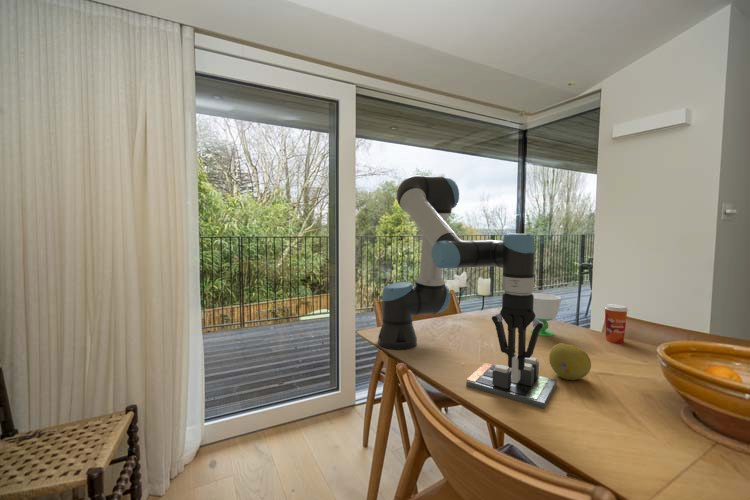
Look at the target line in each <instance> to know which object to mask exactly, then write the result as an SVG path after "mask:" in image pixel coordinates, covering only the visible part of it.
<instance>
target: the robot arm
mask: <svg viewBox="0 0 750 500" xmlns="http://www.w3.org/2000/svg"><path fill="white" fill-rule="evenodd" d="M396 190H397V191H396V202H397V204H398V205H399V207H400V209H401V211H403V212H404V213H406V214H409V216H410V218H411V219H412V221H414V223H415V224H416V226H417V227H418V228H419V230H420V231H421V232H422V241H421V254H420V256H421V257H420V269H419V276H418V277H417V278H416V279H415V285H413V284H412V282H408V281H400V282H393V283H390V284H389V283H388V284H387V285H385V286H384V287H383V289H382V297H381V300H382V303H381V304H382V306H381V307H382V324H381V327H380V330H379V334H378V336H377V337H378V338H377V340H378V341H377V343H378V345H379V346H380V347H382V348H385V349H390V350H406V349H411V348H414V347H415V346H417V344H418V338H417V335H416V331H415V328H414V324H413V316H420V315H421V316H422V315H423V316H424V315H435V314H439V313H443V312H445V311H446V310H447V308H448V307H449V306H450V305H449V304H450V300H451V293H450V289H449V287H448V285H446V281H445V280H444V279H443V278H442V277H443V276H442V275H443V269H450V270H452V269H461V268H462V269H463V268H464V269H465V268H483V267H493V268H494V267H495V268H496V267H497V268H502V291H503V292H502V294H501V295H502V296H501V297H502V299H501V302H502V303H501V310H500V312H499V313H497V314H494V315H493V316H491V320H492V322H493V324H494V326H495V330H496V334H497V339H498V343H499V348H500V351H501V353H502V354H503V353H505V354H506V355H507V366H508V367H509V369H512V382H515V383H518V382H519V380H520V370H523V369H524V367H525V358H530V357H532V356H533V354H534V351H535V348H536V345H537V341H538V338H539V336H540V335H539V332H540V329H541V328H542V327H543V326H544V325H545V323H544V322H543V321H539V320H538V319H537V318H535V314H534V311H533V303H534V296H533V294H532V293H533V292H534V293H535V257H536V245H535V236H534V234H532V233H504V234H503V240H500V239H499V240H496V239H494V240H493V239H479V240H475V239H474V240H470V239H469V240H462V239H461V238H460V237H459V236H458V235H457V234H456V232H454V230H453V229H452V228H451V226H450V225H449V224H448V223H447V218H448V217H449V216H450V215H451V214H452V209H454V208H456V206H457V205H458V203H459V199H460V190H459V185H457V183H456V181H455V180H454V179H453V178H451V177H447V176H442V175H441V176H435V175H434V176H433V175H431V176H430V175H412V176H409V177H407V178H405V179H404V180H403V181H402V182H401V183H400V184H399V186H398V188H397V189H396ZM503 321H504V322H503ZM503 323H506V325H507V337H506V332H505V328H504V324H503ZM531 323H533V324H532V327H533V329H532V330H533V332H532V333H531V335H530V338H529V343H528V346H527V349H526V345H527V344H526V341H527V339H526V338H527V335H526V333H527V328H528V327H529V325H530V324H531ZM516 330H517V332H518V335H517V336H518V338H517V340H518V341H517V352H516ZM515 353H517V354H515Z"/></svg>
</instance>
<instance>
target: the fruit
mask: <svg viewBox="0 0 750 500" xmlns="http://www.w3.org/2000/svg"><path fill="white" fill-rule="evenodd" d="M548 359H549V364H550V366H551V368H552V370H553V371H554V373H555V374H556V375H558V376H559V377H560V378H562V379H564V380H569V381H574V380H575V381H576V380H581V379H583V378H585V377H586V376H587V375H588V374H589V373H590V371H591V368H592V361H591V358H590V356H589V354H588V353H586V351H585V350H584V349H582V348H579V347H578V346H576V345H571V344H567V343H563V342H559V343H558V344H557V343H556V344H555V345H554V346H552V348H551V350H550V352H549V356H548Z"/></svg>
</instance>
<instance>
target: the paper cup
mask: <svg viewBox="0 0 750 500" xmlns="http://www.w3.org/2000/svg"><path fill="white" fill-rule="evenodd" d="M628 312H629V309H628V307H627V306H626V305H622V304H615V303H608V304H605V305H604V316H605V317H604V318H605V319H604V320H605V321H604V322H605V323H604V324H605V339H606V341H607V342H610V343H613V344H614V343H615V344H623V343H624V341H625V333H626V323H627V314H628Z"/></svg>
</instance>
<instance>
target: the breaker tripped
mask: <svg viewBox="0 0 750 500" xmlns="http://www.w3.org/2000/svg"><path fill="white" fill-rule="evenodd" d="M495 365H496V366H495V369H494V370H493V385H495V386H499V387H502V388H506V389H508V388H509V387H510V385H511V370H509V369H510V368H509V367H508V365H503V364H499V363H497V364H495Z"/></svg>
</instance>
